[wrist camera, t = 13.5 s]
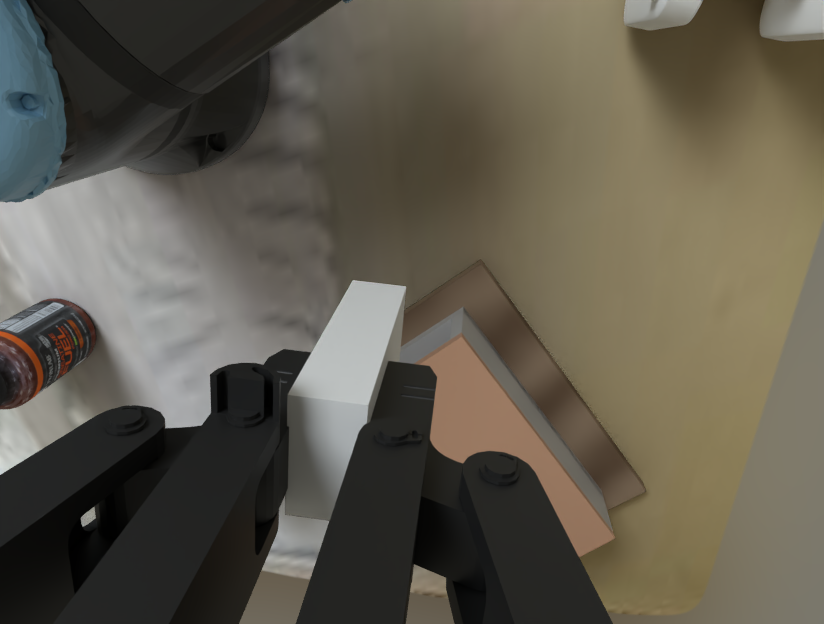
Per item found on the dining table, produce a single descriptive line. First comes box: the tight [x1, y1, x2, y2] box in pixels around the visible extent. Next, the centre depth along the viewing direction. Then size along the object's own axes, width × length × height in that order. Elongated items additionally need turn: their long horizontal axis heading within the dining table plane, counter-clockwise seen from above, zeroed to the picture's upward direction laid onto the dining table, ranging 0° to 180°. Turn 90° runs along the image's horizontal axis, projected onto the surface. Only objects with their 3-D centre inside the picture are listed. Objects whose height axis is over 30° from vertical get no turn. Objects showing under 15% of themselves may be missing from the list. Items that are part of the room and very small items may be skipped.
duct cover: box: [414, 332, 615, 557], centre depth 47 cm, size 20×10×1 cm, turn 37°
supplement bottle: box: [0, 299, 96, 409], centre depth 49 cm, size 6×6×11 cm
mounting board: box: [401, 260, 646, 510], centre depth 53 cm, size 24×16×1 cm, turn 37°
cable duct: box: [399, 307, 613, 531], centre depth 50 cm, size 20×10×5 cm, turn 37°
